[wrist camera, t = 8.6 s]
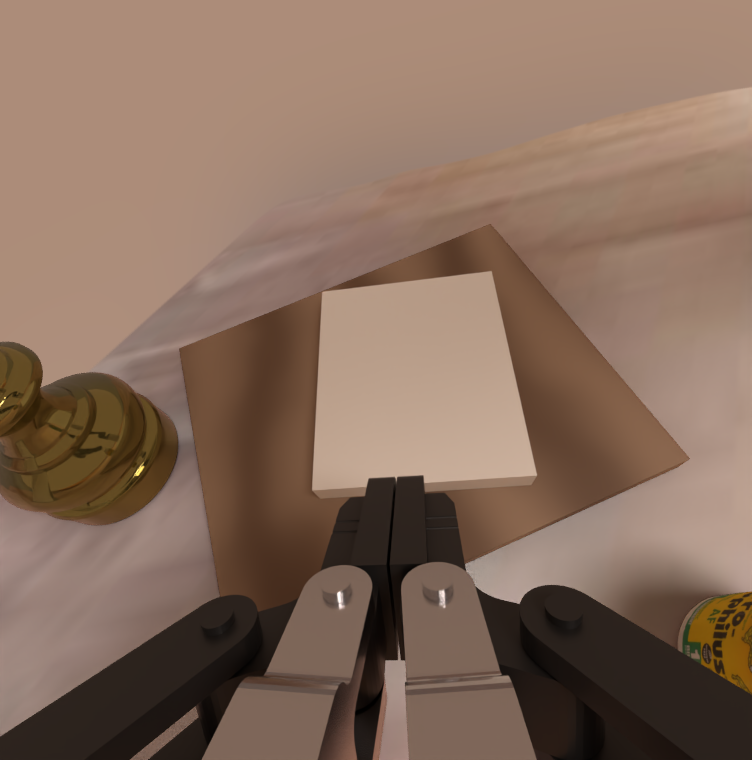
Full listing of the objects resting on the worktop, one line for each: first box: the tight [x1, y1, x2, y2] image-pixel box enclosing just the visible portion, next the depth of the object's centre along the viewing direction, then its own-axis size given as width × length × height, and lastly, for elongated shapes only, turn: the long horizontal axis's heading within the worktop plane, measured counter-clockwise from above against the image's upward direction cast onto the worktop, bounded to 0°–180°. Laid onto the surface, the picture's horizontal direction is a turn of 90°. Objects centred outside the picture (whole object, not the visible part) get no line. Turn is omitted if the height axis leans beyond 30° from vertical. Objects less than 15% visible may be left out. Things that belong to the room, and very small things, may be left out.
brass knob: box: [0, 342, 178, 525], centre depth 20 cm, size 7×7×10 cm
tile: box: [312, 271, 537, 499], centre depth 22 cm, size 10×2×12 cm
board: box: [179, 224, 690, 612], centre depth 23 cm, size 22×18×1 cm
